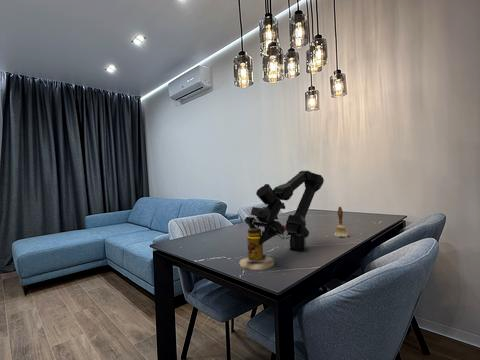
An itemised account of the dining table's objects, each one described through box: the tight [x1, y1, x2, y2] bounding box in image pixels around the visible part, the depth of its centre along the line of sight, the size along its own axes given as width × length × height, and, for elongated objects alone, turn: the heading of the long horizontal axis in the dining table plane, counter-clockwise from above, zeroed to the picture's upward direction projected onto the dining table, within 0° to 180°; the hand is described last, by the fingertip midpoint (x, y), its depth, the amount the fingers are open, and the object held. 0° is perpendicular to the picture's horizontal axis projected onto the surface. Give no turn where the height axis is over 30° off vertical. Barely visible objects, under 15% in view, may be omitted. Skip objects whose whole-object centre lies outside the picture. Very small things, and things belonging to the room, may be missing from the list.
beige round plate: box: [238, 255, 275, 271], centre depth 107 cm, size 14×14×1 cm
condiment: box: [246, 227, 267, 262], centre depth 108 cm, size 7×8×12 cm
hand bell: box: [333, 206, 349, 236], centre depth 144 cm, size 8×8×16 cm
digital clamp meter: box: [261, 225, 291, 240], centre depth 154 cm, size 23×4×25 cm
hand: (253, 242), depth 106 cm, fingers closed on condiment, 6 cm apart
